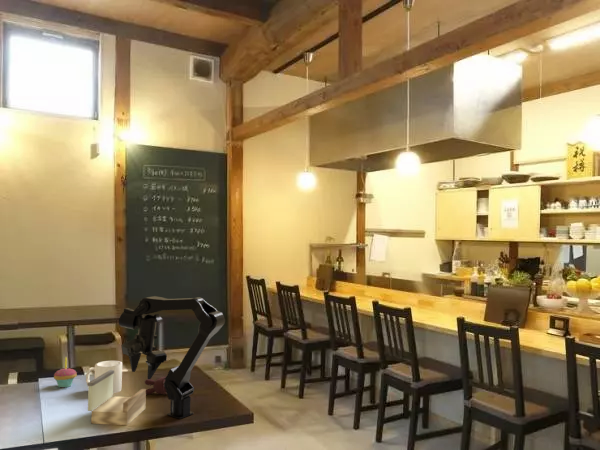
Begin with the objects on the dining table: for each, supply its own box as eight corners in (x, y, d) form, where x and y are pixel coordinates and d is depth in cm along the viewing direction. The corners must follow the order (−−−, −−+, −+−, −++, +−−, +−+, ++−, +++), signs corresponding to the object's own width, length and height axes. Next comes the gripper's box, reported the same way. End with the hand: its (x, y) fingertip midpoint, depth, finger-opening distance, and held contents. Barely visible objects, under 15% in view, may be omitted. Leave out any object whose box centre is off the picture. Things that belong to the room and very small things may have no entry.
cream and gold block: (145, 408, 179) (145, 389, 180) (127, 425, 163) (127, 403, 164) (112, 407, 180) (113, 387, 180) (91, 423, 164) (91, 401, 164)
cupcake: (53, 384, 207) (54, 355, 208) (76, 382, 211) (77, 353, 211) (53, 390, 200) (54, 359, 200) (76, 387, 203) (77, 357, 204)
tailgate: (113, 396, 180) (114, 370, 181) (91, 411, 164) (92, 383, 164) (109, 395, 180) (109, 370, 181) (86, 411, 164) (87, 382, 164)
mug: (81, 394, 194) (82, 367, 195) (90, 387, 204) (90, 360, 205) (117, 394, 196) (118, 366, 196) (124, 386, 206) (125, 360, 206)
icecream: (184, 374, 202) (147, 377, 201) (181, 374, 195) (142, 378, 194) (185, 392, 200) (147, 396, 199) (181, 393, 193) (142, 396, 192)
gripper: (111, 328, 178) (106, 371, 178) (143, 340, 167) (137, 387, 167) (138, 325, 187) (133, 367, 187) (170, 337, 176) (164, 381, 176)
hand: (141, 375), depth 179 cm, fingers open, 9 cm apart
